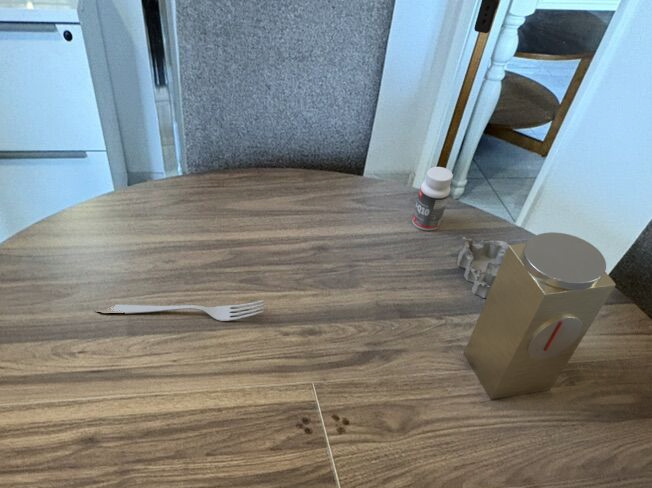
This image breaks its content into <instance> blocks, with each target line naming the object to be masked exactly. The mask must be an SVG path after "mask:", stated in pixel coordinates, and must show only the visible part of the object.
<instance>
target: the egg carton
mask: <svg viewBox="0 0 652 488" xmlns="http://www.w3.org/2000/svg"><path fill="white" fill-rule="evenodd" d="M461 240H462V241H464V247H463V249H462V250H460V252H459V254H458V258H457V262H456V264H457V267H460V268H463V269H464V270H465V272H464V275H463V278H465V280H466V281H468V282H471V283H473V286H472V288H471V292H472V295H475V296H479V297H481V298H482V299H487V296H488V294H489V291H490V289H491V287H492V284H493V282H494V280H495V277H496V275H497V272H498V270H499V268H500V265H501V263H502V260H503V258H504V256H505V253H506V251H507V249H508V246H509V245H510V244H509V243H508V242H506V241H503V240H493V239H490V240H489V241H485V240H484V239H482V240H480V241H479V243H477V244H473V241H474V240H473V239H472V238H467V237H466V236H465V235H462V237H461Z"/></svg>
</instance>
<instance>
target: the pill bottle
mask: <svg viewBox="0 0 652 488" xmlns="http://www.w3.org/2000/svg"><path fill="white" fill-rule="evenodd" d="M426 171H427V172H426V174H425V179H424V180H423V181H422V183H421V184H420V187H419V192H418V195H417V200H416V202H415V206H414V210H413V213H412V218H411V222H412V224H413V225H414V226H415V227H416V228H417V229H419V230H422V231H434V230H436V229H438V228H439V227H440V225H441V222H442V220H443V216H444V213H445V210H446V207H447V203H448V200H449V197H450V195H451V194H450V193H451V184H452V181H453V177H454V175H453V172H452V171H451V170H450V169H448V168H445V167H442V166H433V167H430V168H429V169H427V170H426Z"/></svg>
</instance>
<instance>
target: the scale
mask: <svg viewBox="0 0 652 488" xmlns="http://www.w3.org/2000/svg"><path fill="white" fill-rule="evenodd" d="M508 245H509V246H508V249H507V251H506V253H505V256H504V258H503V260H502V263H501V265H500V268H499V270H498V272H497V275H496V277H495V280H494V282H493V284H492V287H491V289H490V291H489V294H488V296H487V298H485V301H484V304H483V305H482V308H481V310H480V313H479V315H478V318H477V320H476V322H475V325H474V327H473V330H472V332H471V335H470V337H469V339H468V342H467V344H466V346H465V349H464V351H463V355H464V356H465V358H466V360H467V362H468V363H469V365H470V366H471V368H472V370H473V372H474V373H475V375H476V377H477V378H478V381H479V383H480V384H481V385H482V387H483V389H484V391H485V393H486V394H487V396H488V398H489V399H490V400H491V401H493V400H497V399H498V400H499V399H504V398H510V397H516V396H522V395H528V394H533V393H540V392H546V391H550V390H552V389H553V387H554V385H555V383H556V382H557V380H558V379H559V377H560V375H561V374H562V372H563V371H564V369H565V368H566V366H567V364H568V363H569V361H570V359H571V358H572V356H573V355H574V353H575V351H576V350H577V349H578V346H579V345H580V344H581V342H582V340H583V338H584V337H585V335H586V334H587V332H588V330H589V329H590V328H591V326H592V325H593V322H594V321H595V319H596V317H597V316H598V315H599V313H600V311H601V310H602V308H603V306H604V305H605V304H606V301H607V300H608V298H609V297H610V295H611V294H612V292H613V290H614V288H615V287H616V285H617V284H616V283H615V281H614V280H613V279H612V278H611V276H609V274H608V273H607V272H606V270H607V262H606V259H605V257H604V255H603V254H602V252H601V251H600V250H599V249H598V248H597V247H596V246H595V245H593V244H592V243H590V242H589V241H587V240H585V239H583V238H581V237H578V236H577V235H572V234H568V233H563V232H552V231H551V232H543V233H539V234H535V235H534V236H532V237H531V238H529V239H528V240H527V241H526V242H523V243H515V244H514V243H513V244H508Z"/></svg>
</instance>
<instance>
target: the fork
mask: <svg viewBox="0 0 652 488" xmlns="http://www.w3.org/2000/svg"><path fill="white" fill-rule="evenodd" d="M264 302H265V300H258V301H253V302H248V303H241V304H230V305H218V306H211V307H210V306H204V305H203V306H202V305H196V304H195V305H194V304H183V305H150V304H149V305H147V304H145V305H143V304H116V305H115V306H114V307H113V306H112V307H113V308H112V307H110V308H111V309H112V310H113V309H114V310H113V311H115V312H116V311H118V312H121V311H122V313H123V312H125V314H141V313H142V314H144V313H157V312H168V311H179V310H197V311H201V312H204V313H205V314H207V315H209V317H211V318H213V319H214V320H216V321H219V322H227V321H228V322H229V321H235V320H239V319H244V318H248V317H253V316H255V315H256V316H257V315H259V314H262V313H263V314H264V309H265V308H264V306H265V304H264ZM108 309H109V308H108ZM112 310H111V311H112ZM119 310H120V311H119Z"/></svg>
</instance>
